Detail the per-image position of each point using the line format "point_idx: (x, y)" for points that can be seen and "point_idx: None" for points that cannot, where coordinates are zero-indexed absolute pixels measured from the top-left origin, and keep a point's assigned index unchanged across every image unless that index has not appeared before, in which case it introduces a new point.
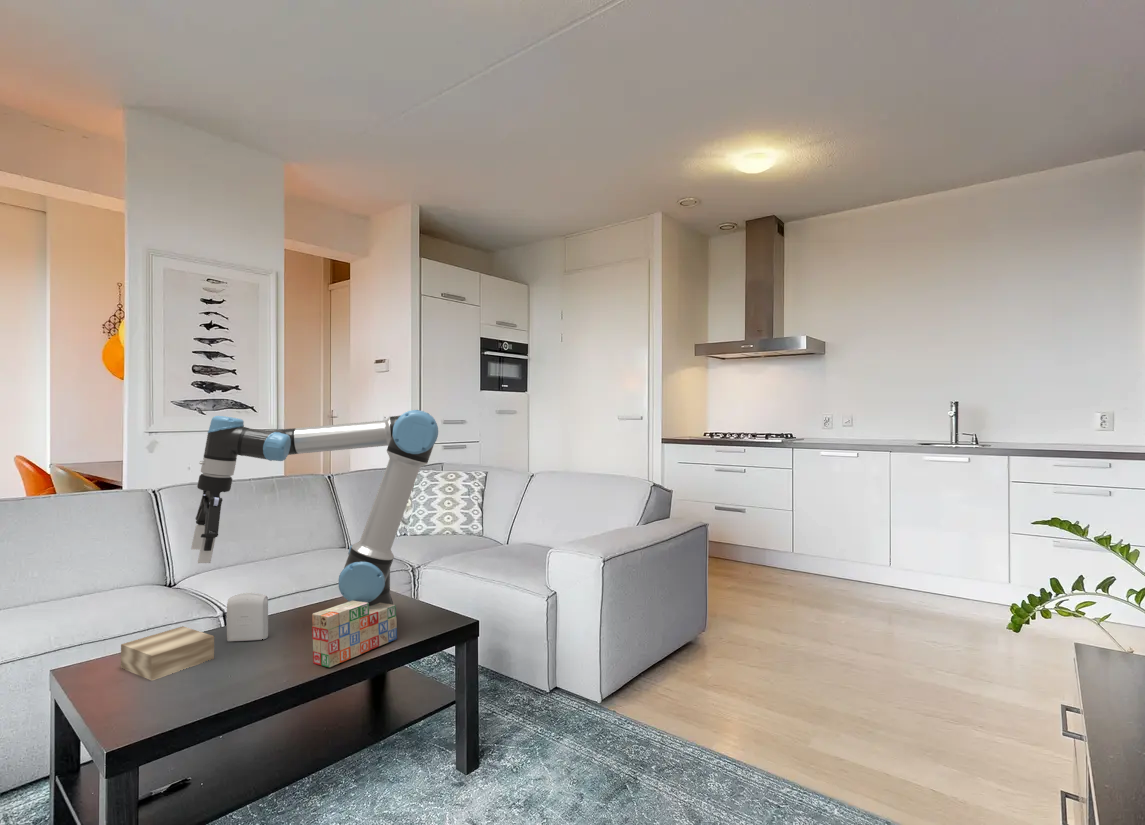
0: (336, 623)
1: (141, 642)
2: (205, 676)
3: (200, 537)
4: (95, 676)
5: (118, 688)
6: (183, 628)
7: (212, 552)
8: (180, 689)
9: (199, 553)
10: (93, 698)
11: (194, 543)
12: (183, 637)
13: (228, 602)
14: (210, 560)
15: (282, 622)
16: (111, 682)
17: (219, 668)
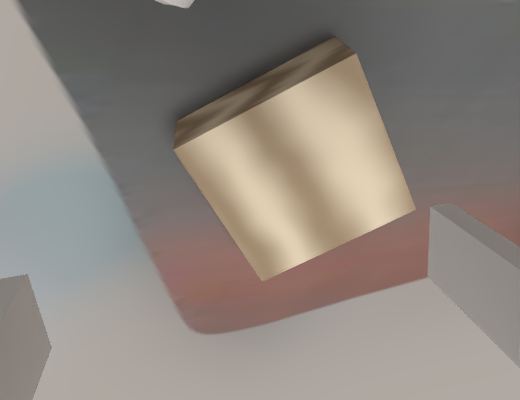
0: None
1: (277, 241)
2: (458, 62)
3: (5, 382)
4: (280, 278)
5: (387, 232)
6: (203, 147)
7: (503, 237)
8: (496, 118)
9: (470, 312)
10: (409, 263)
11: (33, 371)
12: (305, 144)
13: (186, 2)
14: (463, 213)
15: None
16: (340, 247)
17: (427, 24)
